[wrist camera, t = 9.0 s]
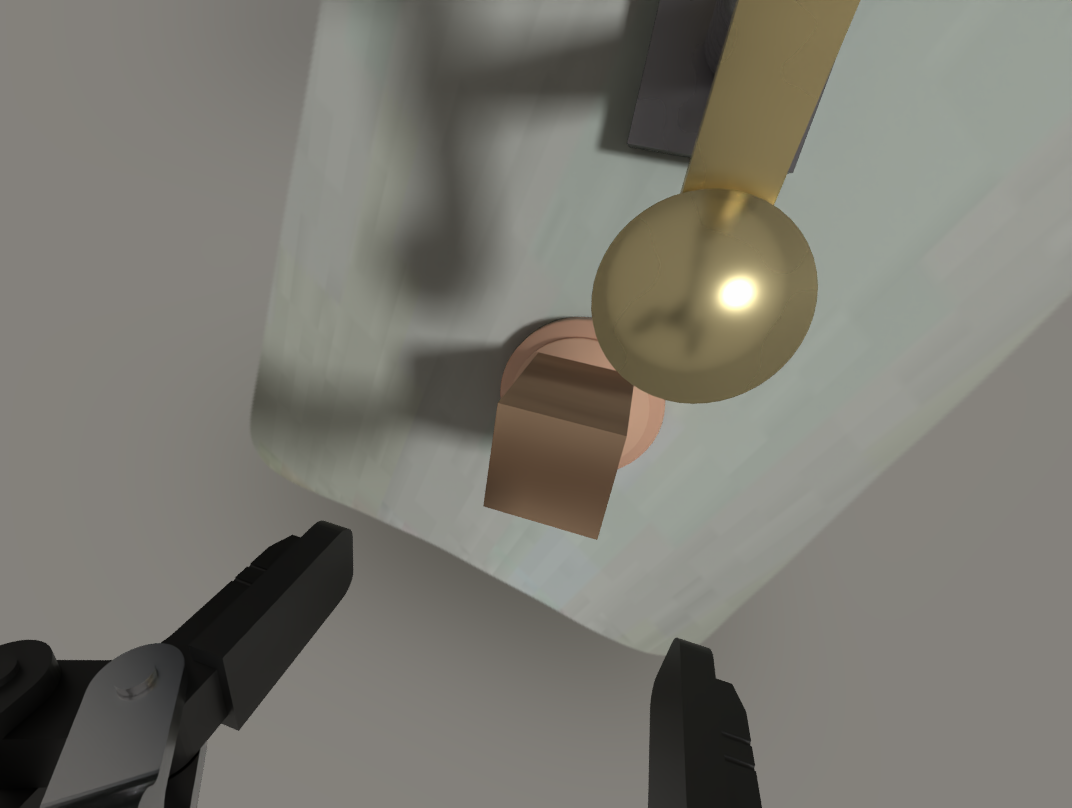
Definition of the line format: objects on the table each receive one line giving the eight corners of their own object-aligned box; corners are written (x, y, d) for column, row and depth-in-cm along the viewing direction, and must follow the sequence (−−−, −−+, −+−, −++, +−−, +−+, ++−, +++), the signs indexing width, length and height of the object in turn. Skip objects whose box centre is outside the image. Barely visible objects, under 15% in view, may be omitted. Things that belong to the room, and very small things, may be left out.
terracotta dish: (518, 299, 22) (509, 305, 21) (687, 339, 21) (688, 348, 19) (496, 442, 25) (487, 454, 24) (639, 482, 24) (638, 498, 23)
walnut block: (538, 352, 21) (497, 402, 16) (635, 375, 20) (626, 436, 15) (523, 435, 23) (483, 506, 18) (611, 459, 22) (597, 539, 17)
